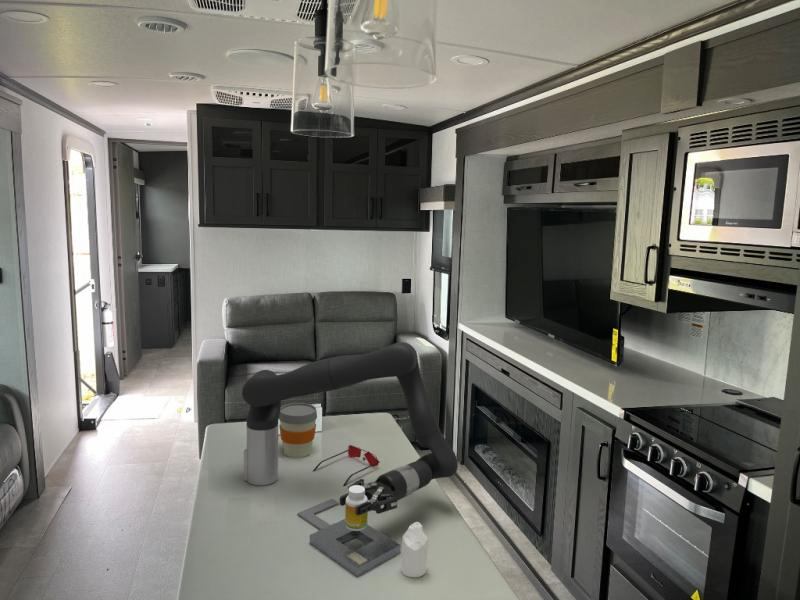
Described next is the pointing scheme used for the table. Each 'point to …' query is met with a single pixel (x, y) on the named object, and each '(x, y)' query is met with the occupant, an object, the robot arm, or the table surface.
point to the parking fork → (311, 513)
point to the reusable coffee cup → (297, 428)
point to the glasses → (356, 452)
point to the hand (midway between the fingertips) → (348, 506)
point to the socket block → (362, 558)
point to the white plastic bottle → (414, 551)
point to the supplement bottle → (352, 502)
